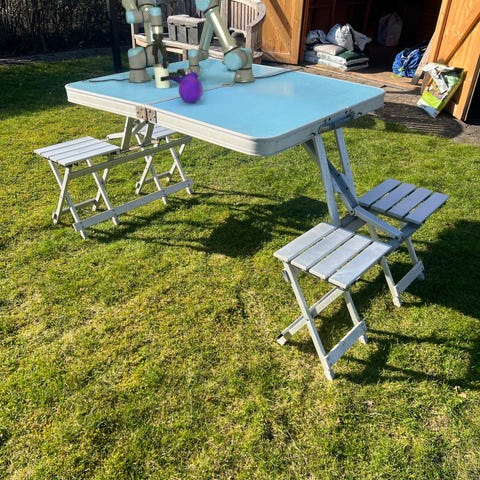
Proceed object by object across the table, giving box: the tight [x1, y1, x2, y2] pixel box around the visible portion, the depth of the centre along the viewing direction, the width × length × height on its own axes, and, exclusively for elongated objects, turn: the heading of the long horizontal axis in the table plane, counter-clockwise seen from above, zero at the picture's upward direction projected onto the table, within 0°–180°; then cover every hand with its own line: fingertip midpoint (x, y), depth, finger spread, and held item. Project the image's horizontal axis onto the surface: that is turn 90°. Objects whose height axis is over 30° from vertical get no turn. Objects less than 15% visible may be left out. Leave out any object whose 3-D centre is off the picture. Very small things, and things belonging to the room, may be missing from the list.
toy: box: [168, 72, 204, 104], centre depth 278 cm, size 16×18×27 cm
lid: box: [152, 61, 170, 68], centre depth 312 cm, size 11×11×2 cm
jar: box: [153, 66, 171, 89], centre depth 316 cm, size 10×10×15 cm
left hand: (161, 67), depth 313 cm, fingers closed on lid, 11 cm apart
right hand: (156, 78), depth 314 cm, fingers closed on jar, 10 cm apart
